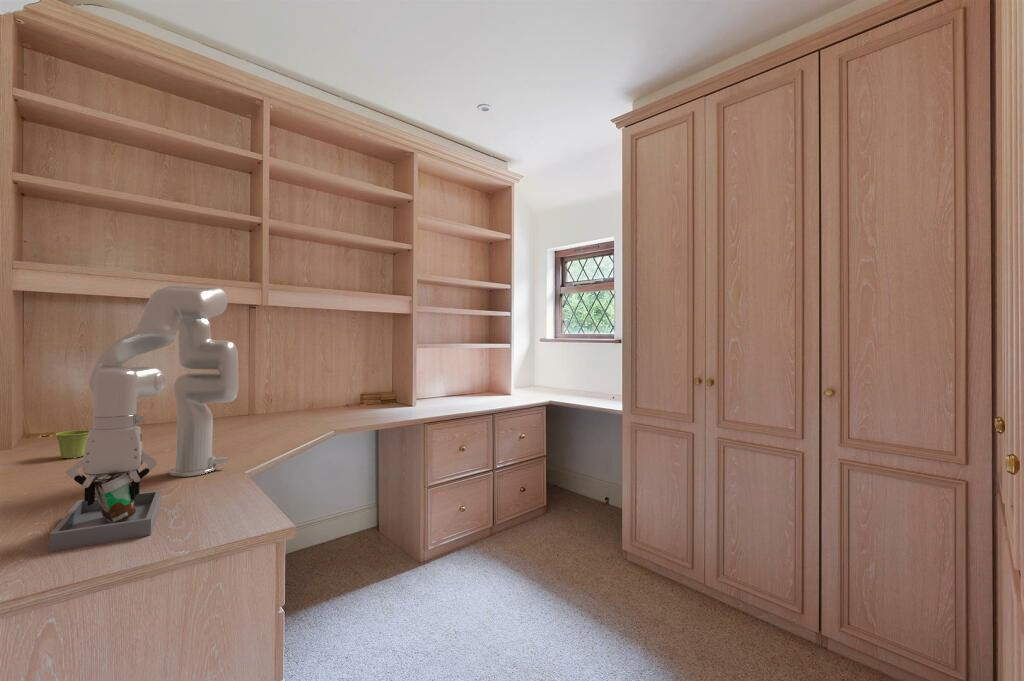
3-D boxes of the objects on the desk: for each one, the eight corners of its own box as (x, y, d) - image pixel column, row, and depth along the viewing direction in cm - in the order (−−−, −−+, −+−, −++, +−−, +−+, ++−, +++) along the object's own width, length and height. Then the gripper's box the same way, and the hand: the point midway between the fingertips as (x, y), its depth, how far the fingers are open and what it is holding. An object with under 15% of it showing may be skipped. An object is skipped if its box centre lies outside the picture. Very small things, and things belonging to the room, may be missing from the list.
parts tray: (160, 503, 119) (161, 490, 119) (150, 535, 100) (151, 519, 100) (77, 515, 110) (77, 500, 110) (49, 551, 92) (49, 534, 92)
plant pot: (51, 457, 159) (52, 432, 159) (87, 452, 167) (88, 428, 167) (58, 462, 154) (59, 436, 154) (95, 456, 162) (95, 432, 162)
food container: (149, 512, 106) (136, 472, 104) (115, 526, 101) (102, 485, 99) (133, 503, 113) (121, 465, 111) (101, 516, 108) (88, 476, 107)
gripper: (163, 417, 113) (161, 490, 113) (67, 423, 104) (65, 502, 104) (160, 422, 107) (158, 499, 107) (58, 428, 97) (55, 512, 97)
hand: (112, 500), depth 105 cm, fingers closed on food container, 6 cm apart
